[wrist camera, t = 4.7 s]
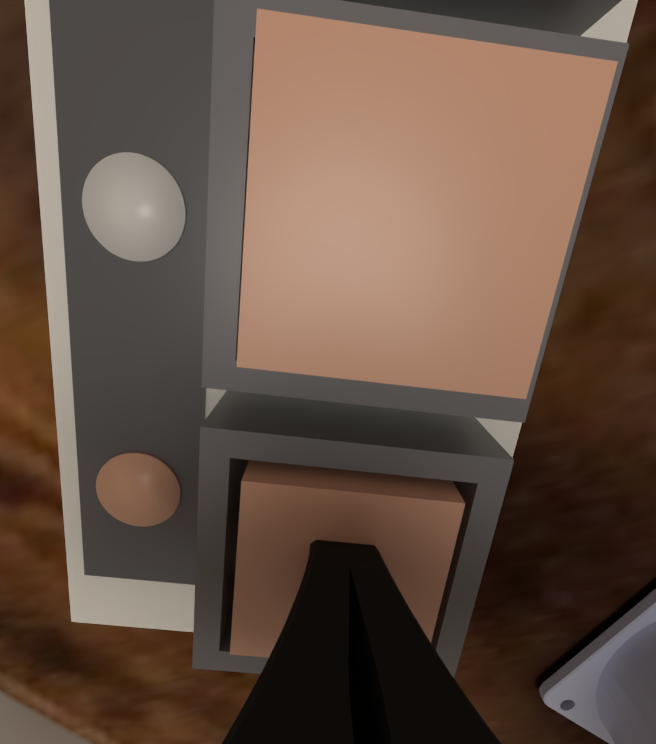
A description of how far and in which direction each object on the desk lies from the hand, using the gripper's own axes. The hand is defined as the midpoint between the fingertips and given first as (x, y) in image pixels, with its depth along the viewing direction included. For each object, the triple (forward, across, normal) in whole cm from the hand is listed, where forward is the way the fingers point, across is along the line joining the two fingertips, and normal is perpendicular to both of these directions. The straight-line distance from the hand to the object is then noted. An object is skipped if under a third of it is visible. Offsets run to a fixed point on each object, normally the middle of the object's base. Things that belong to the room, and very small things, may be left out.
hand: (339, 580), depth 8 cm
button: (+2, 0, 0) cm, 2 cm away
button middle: (+1, 0, -7) cm, 7 cm away
